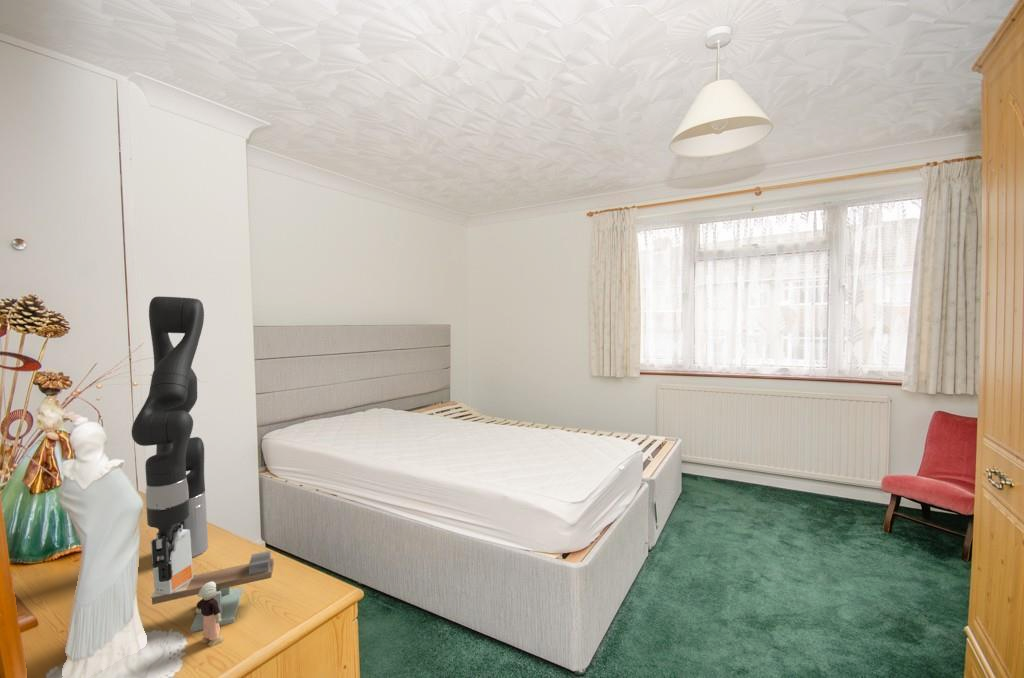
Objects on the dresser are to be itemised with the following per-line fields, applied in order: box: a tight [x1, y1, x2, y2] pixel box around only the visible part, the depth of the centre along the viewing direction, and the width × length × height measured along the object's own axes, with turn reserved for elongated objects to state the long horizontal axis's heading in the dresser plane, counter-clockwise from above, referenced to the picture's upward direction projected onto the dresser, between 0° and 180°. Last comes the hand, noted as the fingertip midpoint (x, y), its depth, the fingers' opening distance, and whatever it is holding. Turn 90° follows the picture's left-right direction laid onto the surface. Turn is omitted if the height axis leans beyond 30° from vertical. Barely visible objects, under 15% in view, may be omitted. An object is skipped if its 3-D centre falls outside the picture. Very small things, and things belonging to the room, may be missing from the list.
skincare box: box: [150, 529, 194, 594], centre depth 101 cm, size 6×4×12 cm
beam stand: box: [190, 586, 244, 633], centre depth 105 cm, size 12×8×7 cm, turn 22°
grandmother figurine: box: [195, 582, 225, 647], centre depth 95 cm, size 8×4×13 cm, turn 77°
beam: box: [150, 550, 275, 606], centre depth 104 cm, size 7×23×5 cm, turn 113°
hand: (172, 569), depth 101 cm, fingers open, 8 cm apart
